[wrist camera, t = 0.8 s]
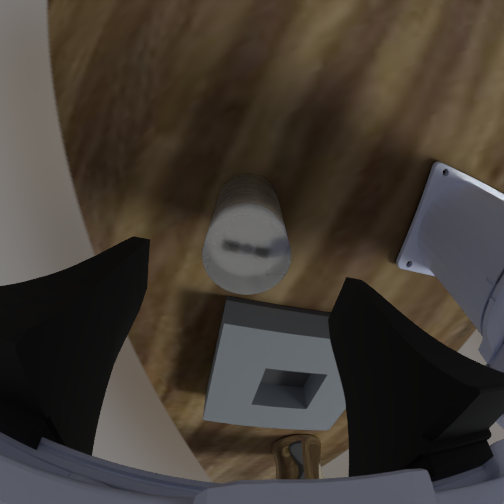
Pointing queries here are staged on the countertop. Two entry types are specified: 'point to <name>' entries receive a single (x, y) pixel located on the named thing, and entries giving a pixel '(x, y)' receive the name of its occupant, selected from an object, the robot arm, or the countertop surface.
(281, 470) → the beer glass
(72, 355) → the robot arm
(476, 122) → the countertop surface
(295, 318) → the hole block
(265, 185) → the peg
